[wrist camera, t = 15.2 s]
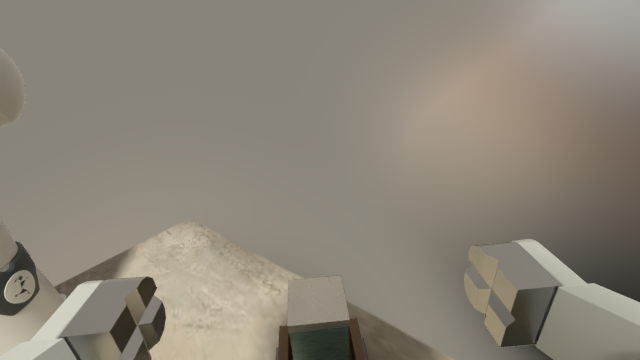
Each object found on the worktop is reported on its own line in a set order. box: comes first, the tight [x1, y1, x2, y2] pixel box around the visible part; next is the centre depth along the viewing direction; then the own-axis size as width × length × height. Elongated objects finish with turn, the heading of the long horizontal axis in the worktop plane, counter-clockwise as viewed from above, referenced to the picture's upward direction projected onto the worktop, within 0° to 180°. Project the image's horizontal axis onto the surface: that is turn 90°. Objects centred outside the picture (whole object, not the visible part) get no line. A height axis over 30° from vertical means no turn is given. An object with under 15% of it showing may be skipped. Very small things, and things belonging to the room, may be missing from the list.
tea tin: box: [287, 275, 350, 360], centre depth 30 cm, size 5×5×12 cm
